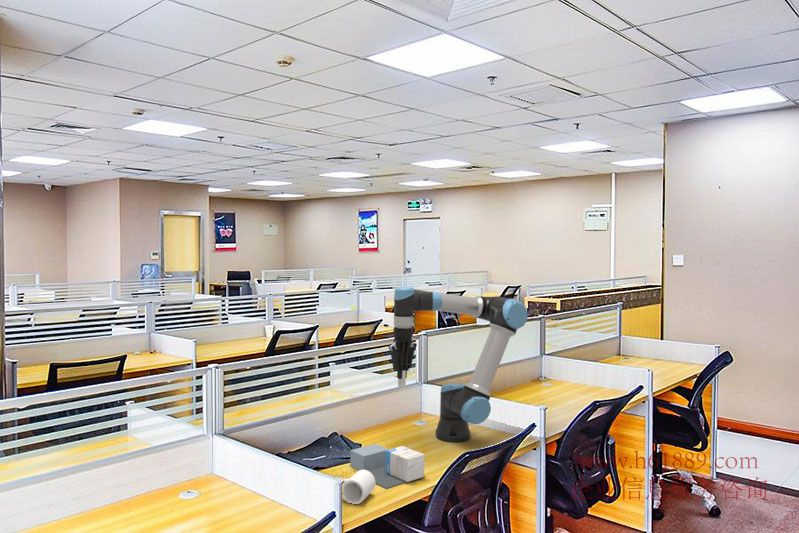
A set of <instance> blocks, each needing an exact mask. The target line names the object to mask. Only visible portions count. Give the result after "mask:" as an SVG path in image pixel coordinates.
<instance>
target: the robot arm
mask: <svg viewBox="0 0 799 533" xmlns="http://www.w3.org/2000/svg"><path fill="white" fill-rule="evenodd" d="M435 311H437V312H446V313H454V314H461V315H469V316H471V317H473V318H474V319H480V320H484V321H488V322H489V328H490V331H489V334H488V336H487V338H486V341H485V344H484V345H483V348H482V351H481V353H480V356H479V358H478V360H477V362H476V365H475V368H474V370H473V373H472V375H471V378H470V381H469V382H468V383H460V382H459V383H458V382H455V383H454V382H452V383H445V384H442V385H441V387H440V393H439V394H440V401H439V402H440V406H439V408H440V409H439V420H438V422H437V423H438V424H437V426H436V429H435V434H434V435H435V437H436V439H439V440H441V441H443V442H444V441H445V442H450V443H459V442H460V443H461V442H462V443H463V442H466V441H469V440H471V435H472V434H471V431H470V428H469V423H470V424H471V425H479V424H481V423H484V422H485V421H486V420H488V418H489V416H490V414H491V410H492V409H491V408H492V406H491V403H490V402H489V401H490V399H491V393H490V388H491V386H492V384H493V382H494V379H495V376H496V374H497V371H498V369H499V366H500V364H501V361H502V359H503V357H504V353H505V351H506V348H507V346H508V343H509V341H510V338H511V337H513V336H515V335H516V334H517V330H518V329H521V328H522V327H524V326H525V325H526V323H527V321H528V318H529V317H528V310H527V307H526V305H525V304H524V303H523V302H522V301H520V300H518V299H515V298H507V297H501V296H480V295H477V296H476V295H475V296H474V297H471V296H462V295H457V294H450V293H441V292H438V291H428V290H423V289H415V288H413V287H411V286H397V287H396V288H395V290H394V296H393V326H394V327H393V337H394V338H393V339H394V340H393V342H392V344H391V345H388V350H389V351H390V357H391V363H392V368H393V370H396V373H397V376H396V378H397V387H399V388H406V381H407V378H408V377H407V376H408V371H409V370H410V369H411V368H412V364H413V360H414V355H415V350H416V347H418V346H417V343H415V342H413V339H412V338H413V336H414V335H413V334H414V332H413V331H414V327H413V326H414V312H435Z"/></svg>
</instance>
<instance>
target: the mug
mask: <svg viewBox="0 0 799 533" xmlns="http://www.w3.org/2000/svg"><path fill="white" fill-rule="evenodd" d="M343 479H344V483H342V484H343V485H342V486H343V495H342V498H343V499H344V500H345V501H346V502H347V503H348V504H350V503H352V504H351V505H353V504H357V505H359V504H361V503H362V502H363V501H364V500H365V499H366V498H367V497H368V496H369V495H370V494H371V493H372V492H373V491H374V490H375V487H376V485H377V484H376V482H375V478H374V476H373V474H372V473H371V472H369V471H367V470H357V471H356V472H355V473H354V474H353V475H352V476H350V477H349V478H343Z"/></svg>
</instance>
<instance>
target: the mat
mask: <svg viewBox="0 0 799 533" xmlns="http://www.w3.org/2000/svg"><path fill="white" fill-rule="evenodd" d="M369 472H371V473H372V474H373V476H374V478H375V482H376V484H375V485H377V486H379V487H381V488H383V489H385V490H387V489H391V488H394V487H397V486H401V485H403V484H407V483H409V482H413V481H416V480H417V479H415V480H412V481H409V482H406V481H404V480H402V479H399V478H397V477H395V476H392V475H390V474H388V473H386V472H385V466H383V467H379V468H376V469H372V470H369ZM423 478H425V475H424V477H423Z"/></svg>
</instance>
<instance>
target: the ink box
mask: <svg viewBox="0 0 799 533" xmlns="http://www.w3.org/2000/svg"><path fill="white" fill-rule="evenodd" d="M426 465H428V462H425V454H424V453H423V452H419V451H418V450H417V451H416V450H414V449H412V448H409V447H406V446H404V445H400V446H397V447H394V448H391V449H390V448H389V450H387V451H386V463H385V472H386V473H388V474H390V475H392V476H395V477H397V478H399V479H402V480H404V481H406V482H407V483H409V481H410V482H413V481H416V480H419V479H423V478H425V477H424V476H425V475H424V474H425V466H426ZM415 479H416V480H415ZM412 480H413V481H412Z"/></svg>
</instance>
